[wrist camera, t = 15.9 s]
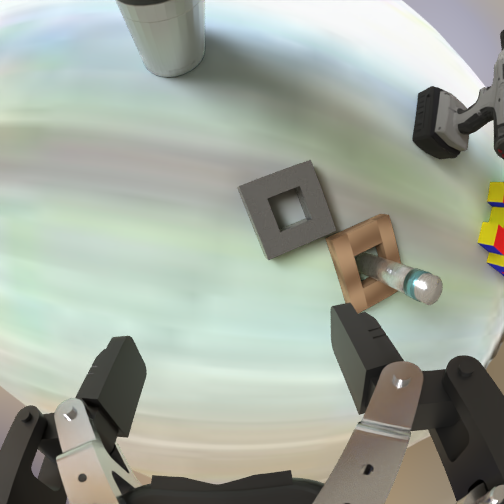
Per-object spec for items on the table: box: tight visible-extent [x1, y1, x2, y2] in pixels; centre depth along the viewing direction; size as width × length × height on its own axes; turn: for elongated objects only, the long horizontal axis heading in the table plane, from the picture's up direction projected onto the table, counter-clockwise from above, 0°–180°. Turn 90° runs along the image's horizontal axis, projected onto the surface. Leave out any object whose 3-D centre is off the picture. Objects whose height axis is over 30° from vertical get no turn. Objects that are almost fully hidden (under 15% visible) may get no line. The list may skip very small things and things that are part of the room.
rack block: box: [325, 214, 401, 313], centre depth 40 cm, size 12×10×2 cm
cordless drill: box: [413, 30, 504, 159], centre depth 27 cm, size 8×24×25 cm, turn 163°
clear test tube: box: [355, 252, 442, 305], centre depth 34 cm, size 3×3×16 cm
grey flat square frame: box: [238, 160, 336, 260], centre depth 37 cm, size 10×10×2 cm
